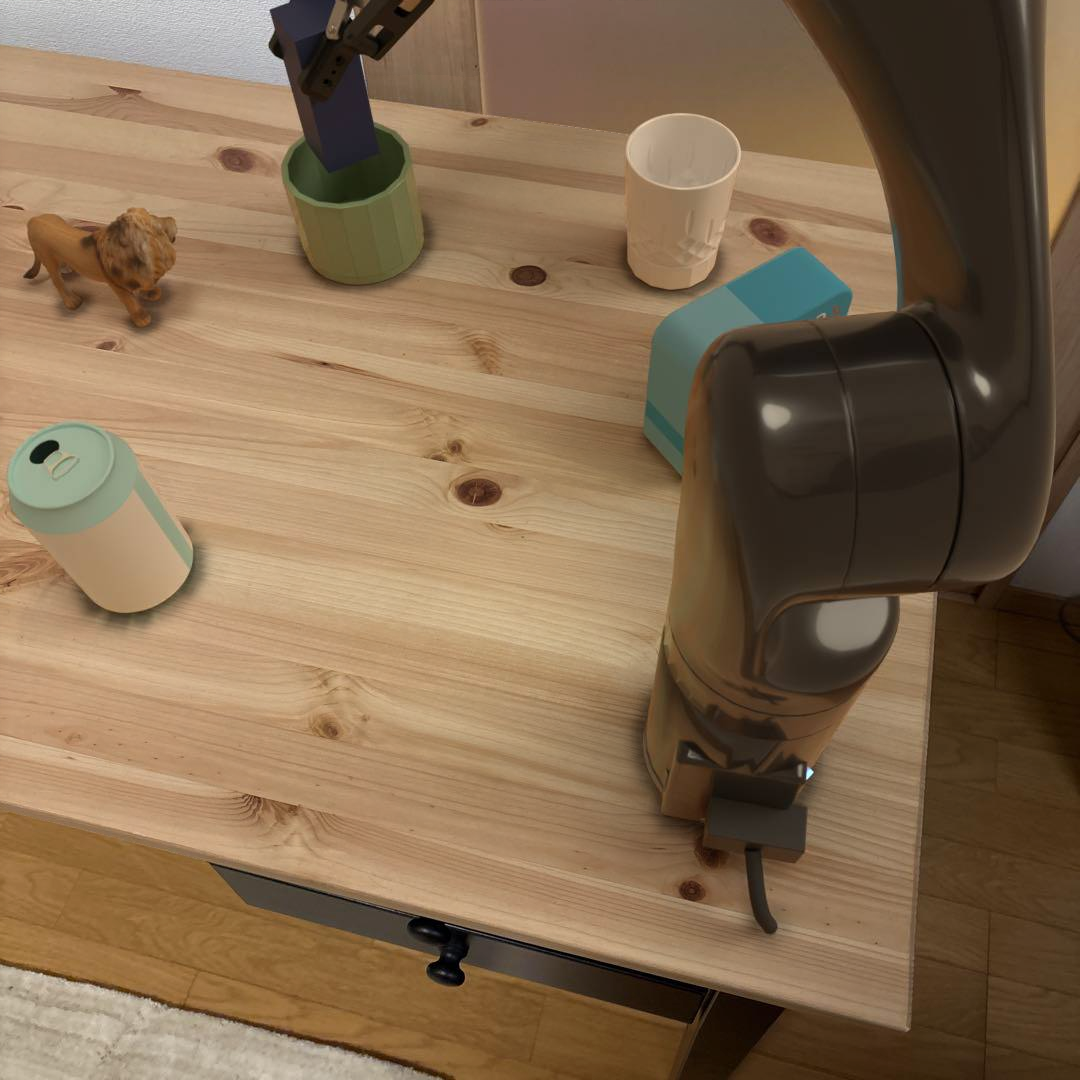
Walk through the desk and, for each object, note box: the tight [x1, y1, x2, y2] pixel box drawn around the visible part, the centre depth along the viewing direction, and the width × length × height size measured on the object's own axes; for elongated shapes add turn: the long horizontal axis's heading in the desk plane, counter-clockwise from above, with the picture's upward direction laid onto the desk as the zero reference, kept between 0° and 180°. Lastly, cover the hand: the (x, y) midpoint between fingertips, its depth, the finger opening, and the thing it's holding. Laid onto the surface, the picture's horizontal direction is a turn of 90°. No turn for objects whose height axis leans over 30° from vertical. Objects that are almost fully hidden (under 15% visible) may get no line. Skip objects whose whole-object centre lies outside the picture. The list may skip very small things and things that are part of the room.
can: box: [5, 420, 194, 614], centre depth 59 cm, size 7×7×12 cm
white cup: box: [624, 112, 742, 291], centre depth 73 cm, size 8×8×10 cm
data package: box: [642, 246, 854, 477], centre depth 64 cm, size 12×4×12 cm, turn 123°
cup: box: [280, 121, 425, 286], centre depth 76 cm, size 9×9×8 cm
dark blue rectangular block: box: [269, 0, 380, 174], centre depth 67 cm, size 4×4×10 cm
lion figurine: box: [22, 206, 179, 328], centre depth 73 cm, size 15×5×9 cm, turn 77°
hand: (296, 75), depth 65 cm, fingers closed on dark blue rectangular block, 4 cm apart
